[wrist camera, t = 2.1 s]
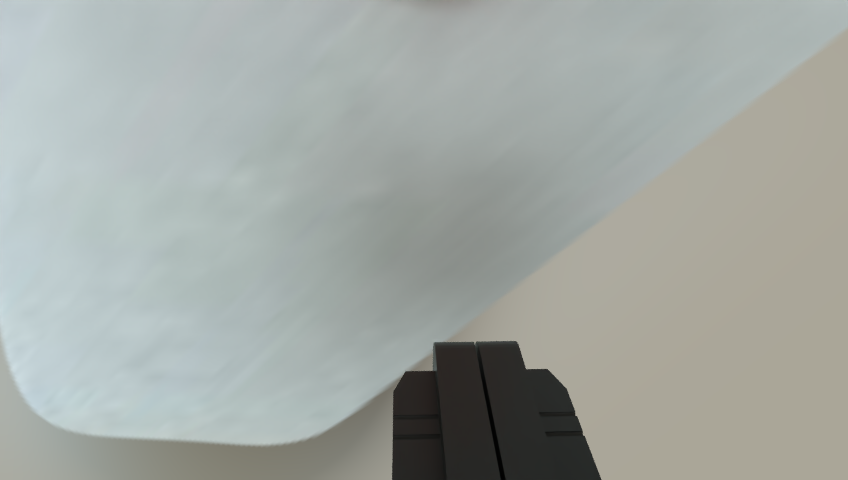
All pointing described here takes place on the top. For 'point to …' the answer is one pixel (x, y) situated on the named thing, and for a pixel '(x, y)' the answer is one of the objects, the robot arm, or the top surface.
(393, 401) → the robot arm
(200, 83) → the top surface
